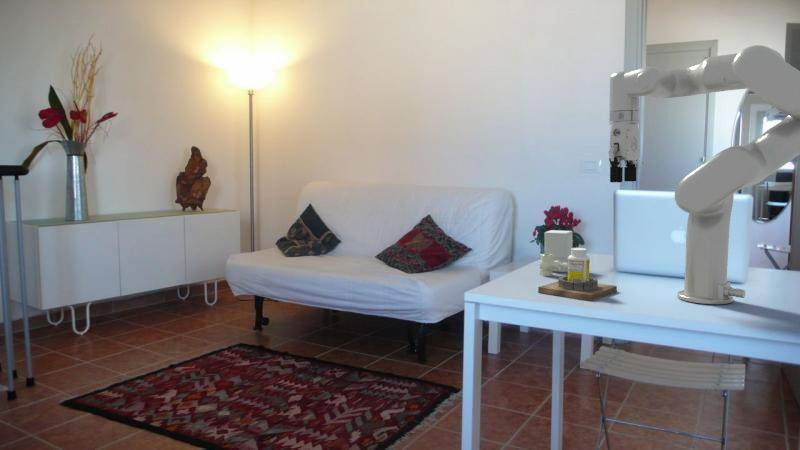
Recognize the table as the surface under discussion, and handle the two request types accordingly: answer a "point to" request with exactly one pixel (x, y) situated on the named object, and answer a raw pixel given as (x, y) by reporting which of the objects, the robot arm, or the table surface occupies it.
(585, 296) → the collar plate
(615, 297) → the table surface
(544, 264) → the valve
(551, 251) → the supplement box
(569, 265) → the supplement bottle
